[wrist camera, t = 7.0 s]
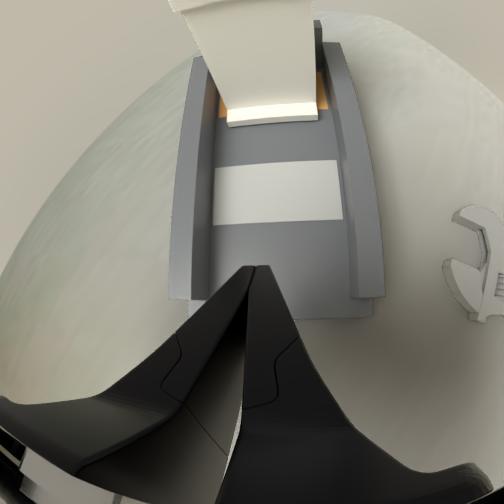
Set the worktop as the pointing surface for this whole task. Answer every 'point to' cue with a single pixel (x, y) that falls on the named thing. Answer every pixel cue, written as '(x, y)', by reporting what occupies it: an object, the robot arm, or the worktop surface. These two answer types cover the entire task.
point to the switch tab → (257, 56)
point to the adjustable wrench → (491, 267)
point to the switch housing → (278, 199)
